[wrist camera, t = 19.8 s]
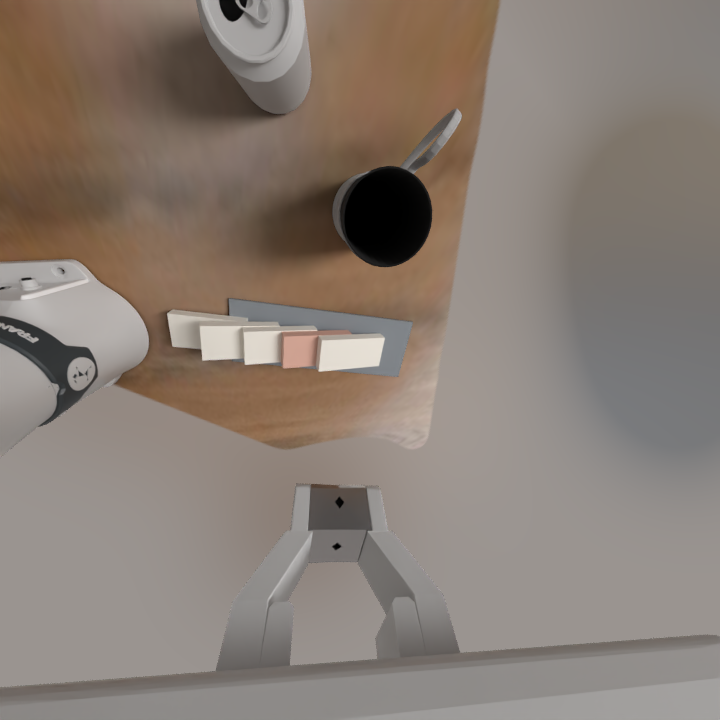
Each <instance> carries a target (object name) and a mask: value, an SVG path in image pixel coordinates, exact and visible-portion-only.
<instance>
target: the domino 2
mask: <svg viewBox="0 0 720 720" xmlns="http://www.w3.org/2000/svg"><path fill="white" fill-rule="evenodd" d="M268 326H280V325H279V323H278V322H227V321H200V337H201V348H202V359H203V360H223V359H243V358H244V351H243V327H268Z"/></svg>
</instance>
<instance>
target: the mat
mask: <svg viewBox="0 0 720 720" xmlns="http://www.w3.org/2000/svg"><path fill="white" fill-rule="evenodd" d="M229 314H230V316H235V317H244V318H248V322H278V323H279V325H280V326H315V327H316V329H317V331H325V330H349V331H350V332H351V333H352V334H376V333H380V334H381V335H383V336H384V337H385V340H384V345H383V349H382V354H381V359H380V363H379V366H374V367H363V368H352V369H341V370H331V371H342V372H352V373H363V374H374V375H384V376H395V377H398V375H399V371H400V368H401V364H402V360H403V357H404V353H405V350H406V346H407V342H408V339H409V335H410V331H411V328H412V324H413V322H411V321H403V320H396V319H388V318H380V317H372V316H365V315H357V314H349V313H341V312H334V311H326V310H318V309H311V308H303V307H295V306H287V305H280V304H272V303H264V302H256V301H249V300H241V299H233V298H229ZM232 361H236V362H244V358H243V359H232ZM263 364H268V365H278V366H282V364H281V362H277V363H263ZM299 368H310V369H317V368H316V366H308V367H299Z"/></svg>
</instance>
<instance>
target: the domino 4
mask: <svg viewBox="0 0 720 720" xmlns="http://www.w3.org/2000/svg"><path fill="white" fill-rule="evenodd" d="M348 334H352V333H351V332H350V331H349V330H325V331H289V332H282V345H281V364H282V367H283V368H295V367H308V366H316V357H317V346H318V336H320V335H348Z"/></svg>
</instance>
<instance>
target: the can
mask: <svg viewBox="0 0 720 720" xmlns="http://www.w3.org/2000/svg"><path fill="white" fill-rule="evenodd" d="M196 2H197V7H198V12H199V17H200V22H201V24H202V27H203V29H204V31H205V34H206V36H207V38H208V40H209V43H210V45H211V46H212V48H213V49H214V50H215V52H216V53H217V55H218V56H219V57H220V59H221V60H222V61H223V63H224V64H225V65H226V67H227V68H228V69H229V71H230V72H231V73H232V75H233V76H234V77H235V79H236V80H237V81H238V83H239V84H240V85H241V87H242V88H243V89H244V91H245V92H246V93H247V95H248V96H249V97H250V99H251V100H252V101H253V102H254V103H255V104H257V105H258V106H259V107H260V108H261V109H263V110H265V111H268V112H270V113H273V114H286V113H288V112H291V111H293V110H295V109H296V108H297V107H298V106H299V105H300V104H301V103H302V102H303V101H304V99H305V97H306V95H307V92H308V90H309V87H310V80H311V61H310V52H309V44H308V36H307V28H306V19H305V11H304V3H303V0H196Z"/></svg>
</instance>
